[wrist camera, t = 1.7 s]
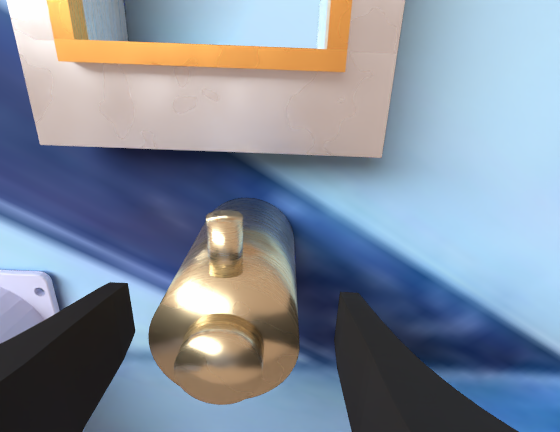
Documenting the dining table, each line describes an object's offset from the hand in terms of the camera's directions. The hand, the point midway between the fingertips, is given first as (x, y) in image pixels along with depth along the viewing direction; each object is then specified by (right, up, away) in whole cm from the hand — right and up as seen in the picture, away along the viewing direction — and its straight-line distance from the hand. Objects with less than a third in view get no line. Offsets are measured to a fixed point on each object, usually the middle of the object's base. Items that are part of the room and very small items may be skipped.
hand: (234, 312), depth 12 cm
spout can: (0, +2, +5) cm, 5 cm away
